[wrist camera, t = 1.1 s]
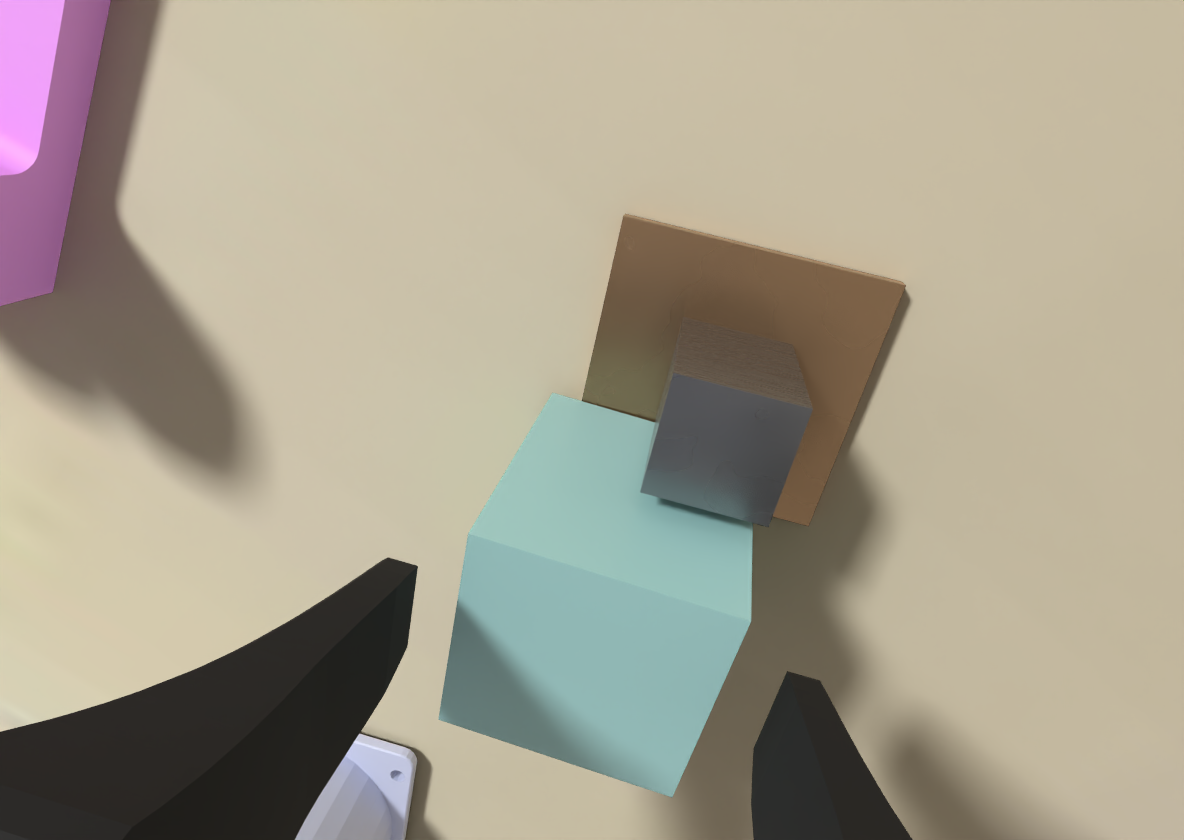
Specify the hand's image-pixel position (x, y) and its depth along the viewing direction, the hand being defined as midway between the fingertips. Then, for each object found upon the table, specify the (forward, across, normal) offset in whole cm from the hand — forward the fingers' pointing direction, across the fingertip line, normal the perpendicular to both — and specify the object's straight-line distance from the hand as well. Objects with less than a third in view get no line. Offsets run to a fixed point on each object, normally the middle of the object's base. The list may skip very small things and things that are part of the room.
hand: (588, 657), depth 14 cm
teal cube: (+6, 0, 0) cm, 6 cm away
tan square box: (+6, -1, -4) cm, 8 cm away
